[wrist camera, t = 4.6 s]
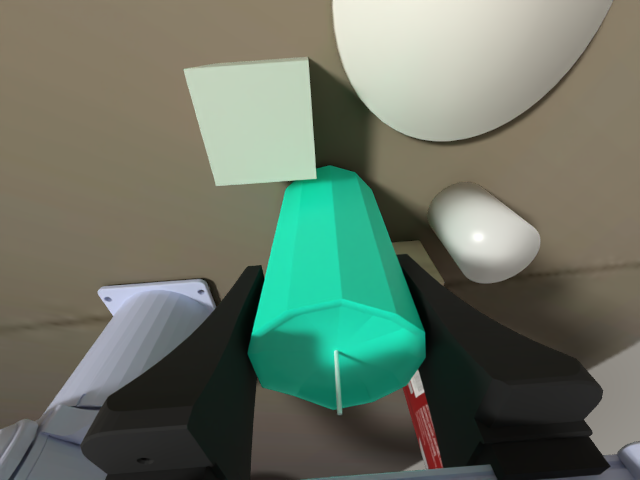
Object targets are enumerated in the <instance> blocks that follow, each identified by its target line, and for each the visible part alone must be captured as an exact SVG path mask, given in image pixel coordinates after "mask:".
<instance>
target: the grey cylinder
mask: <svg viewBox="0 0 640 480" xmlns="http://www.w3.org/2000/svg"><path fill="white" fill-rule="evenodd" d="M427 219H428V223H429V225H430V227H431V228H432V230H433V231H434V232H435V234H436V235H437V237H438V238H439V240H440V241H441V242H442V244H443V245H444V247H445V248H446V250H447V251H448V252H449V254H450V255H451V257H452V258H453V259H454V261H455V262H456V264H457V265H458V267H459V268H460V269H461V271H462V272H463V274H464V275H465V276H466V277H467V278H468V279H470V280H472V281H474V282H477V283H495V282H500V281H503V280H506V279H508V278H510V277H513V276H514V275H516V274H518V273H519V272H521V271H522V270H523V269H525V268H526V267H527V266H528V265H529V264H530V263H531V262H532V261H533V259H534V258H535V256H536V255H537V253H538V250H539V247H540V236H539V233H538V232H537V230H536V229H535V228H534V227H533V226H531V225H530V224H529V223H527V222H526V221H525V220H524V219H522V218H521V217H520V216H519V215H517V214H516V213H515V212H513V211H512V210H511V209H510V208H508V207H507V206H506V205H504V204H503V203H502V202H501V201H499V200H498V199H497V198H495V197H494V196H493V195H492V194H490V193H489V192H488V191H487V190H485V189H484V188H483V187H481V186H480V185H478V184H476V183H472V182H460V183H456V184H453V185H451V186H449V187H447V188H445V189H444V190H442V191H441V192H440V193H439V194H438V195H437V196H436V197H435V198H434V199H433V201H432V202H431V204H430V206H429V209H428V213H427Z"/></svg>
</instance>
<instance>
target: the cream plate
mask: <svg viewBox="0 0 640 480" xmlns="http://www.w3.org/2000/svg"><path fill="white" fill-rule="evenodd" d="M612 2H613V0H332V4H331V10H332V22H333V32H334V37H335V42H336V47H337V51H338V54H339V58H340V61H341V64H342V67H343V69H344V72H345V74H346V76H347V78H348V80H349V83H350V84H351V86H352V87H353V89H354V91H355V92H356V94H357V95H358V97H359V98H360V99H361V100H362V102H363V103H364V104H365V105H366V107H367V108H368V109H369V110H370V111H371V112H373V113H374V114H375V115H376V116H377V117H378V118H379V119H380V120H381V121H383V122H384V123H385V124H387V125H389V126H390V127H392V128H393V129H395V130H397V131H399V132H401V133H403V134H405V135H408V136H411V137H414V138H418V139H422V140H429V141H454V140H461V139H466V138H470V137H474V136H478V135H481V134H483V133H486V132H488V131H491V130H493V129H496V128H498V127H499V126H501V125H503V124H505V123H507V122H509V121H511V120H512V119H514V118H515V117H517V116H519V115H520V114H522V113H523V112H525V111H526V110H527V109H529V108H530V107H531V106H532V105H534V104H535V103H536V102H537V101H539V100H540V99H541V98H542V97H543V96H544V95H545V94H547V93H548V92H549V91H550V90H551V89H552V88H553V87H554V86H555V85H556V84H557V83H558V82H559V81H560V80H561V79H562V77H563V76H564V75H565V74H566V73H567V72H568V71H569V70H570V69H571V67H572V66H573V65H574V63H575V62H576V61H577V59H578V58H579V57H580V56H581V54H582V53H583V52H584V50H585V49H586V47H587V46H588V44H589V43H590V41H591V40H592V38H593V36H594V35H595V33H596V32H597V30H598V29H599V27H600V25H601V23H602V21H603V19H604V17H605V16H606V14H607V12H608V10H609V8H610V6H611V4H612Z"/></svg>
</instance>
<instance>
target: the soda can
mask: <svg viewBox="0 0 640 480" xmlns="http://www.w3.org/2000/svg"><path fill="white" fill-rule="evenodd" d="M403 391H404V394H405V398H406V401H407V404H408V408H409V411H410V415H411V418H412V422H413V425H414V429H415V432H416V436H417V439H418V443H419V446H420V450H421V453H422V457H423V460H424V464H425V467H426V470H427V469H439V468H443V465H442V461H441V457H440V452H439V448H438V443H437V439H436V435H435V431H434V427H433V423H432V419H431V415H430V411H429V407H428V403H427V400H426V396H425V392H424V389H423V385H422V381H421V378H420V374H419V371H418V370H417V371H416V373H415V374H414V375H413V377H412V378H411V380H410V381H409V383H408V384H407V386H405V387H403Z"/></svg>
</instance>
